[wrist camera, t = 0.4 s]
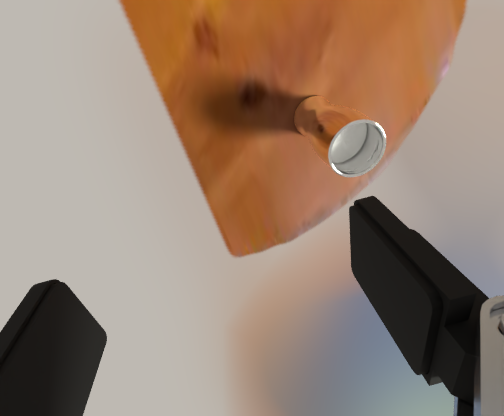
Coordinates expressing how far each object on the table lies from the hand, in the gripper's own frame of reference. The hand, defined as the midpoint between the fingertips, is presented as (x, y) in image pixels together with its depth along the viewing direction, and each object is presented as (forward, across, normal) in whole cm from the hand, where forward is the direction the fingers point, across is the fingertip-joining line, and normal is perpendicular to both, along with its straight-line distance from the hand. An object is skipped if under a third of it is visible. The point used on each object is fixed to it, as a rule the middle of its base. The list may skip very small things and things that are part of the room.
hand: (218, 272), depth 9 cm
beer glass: (+36, -14, +7) cm, 39 cm away
